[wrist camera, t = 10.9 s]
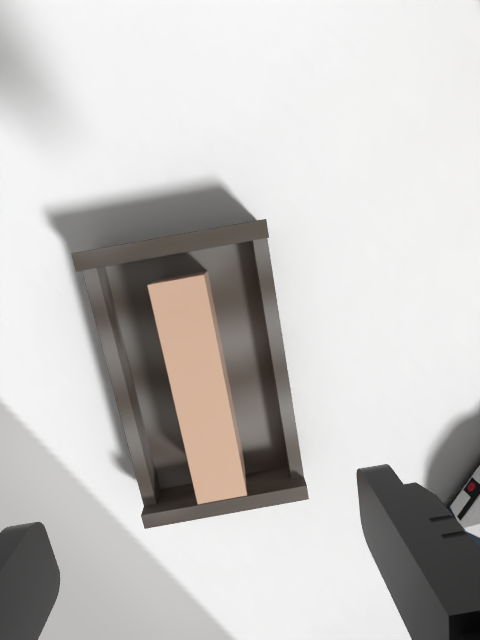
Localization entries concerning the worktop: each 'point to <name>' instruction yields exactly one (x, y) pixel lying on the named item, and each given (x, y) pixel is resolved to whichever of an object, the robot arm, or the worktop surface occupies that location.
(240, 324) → the charcoal tray
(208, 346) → the tan rectangular block
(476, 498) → the toy car
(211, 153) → the worktop surface
